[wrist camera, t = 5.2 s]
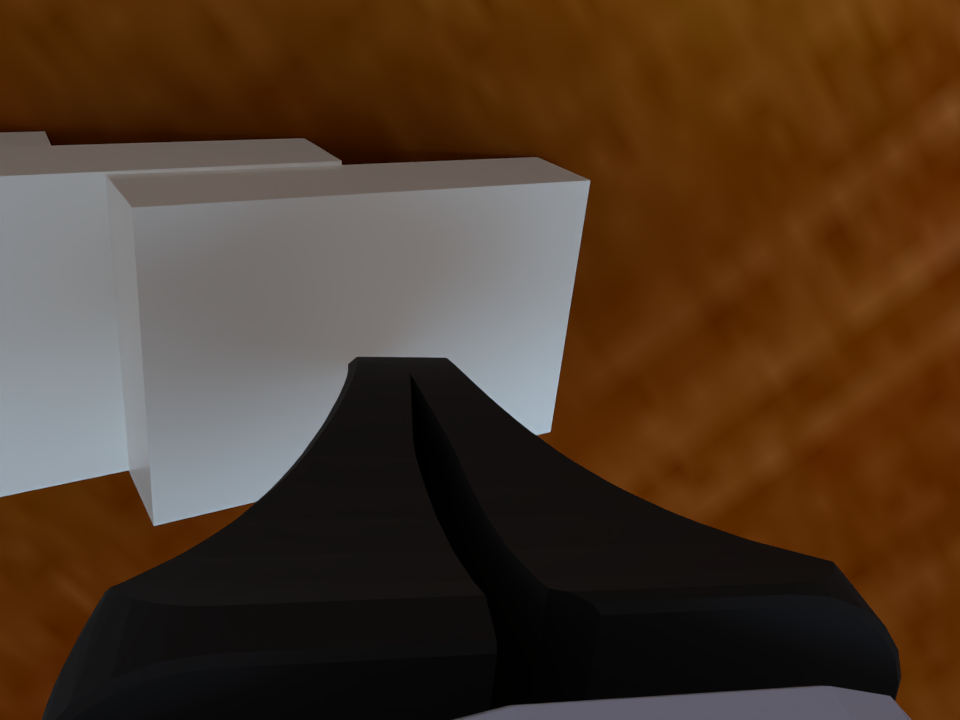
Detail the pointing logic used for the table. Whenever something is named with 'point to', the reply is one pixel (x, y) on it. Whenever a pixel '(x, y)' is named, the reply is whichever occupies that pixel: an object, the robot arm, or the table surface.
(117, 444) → the domino
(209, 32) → the table surface
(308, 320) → the domino
